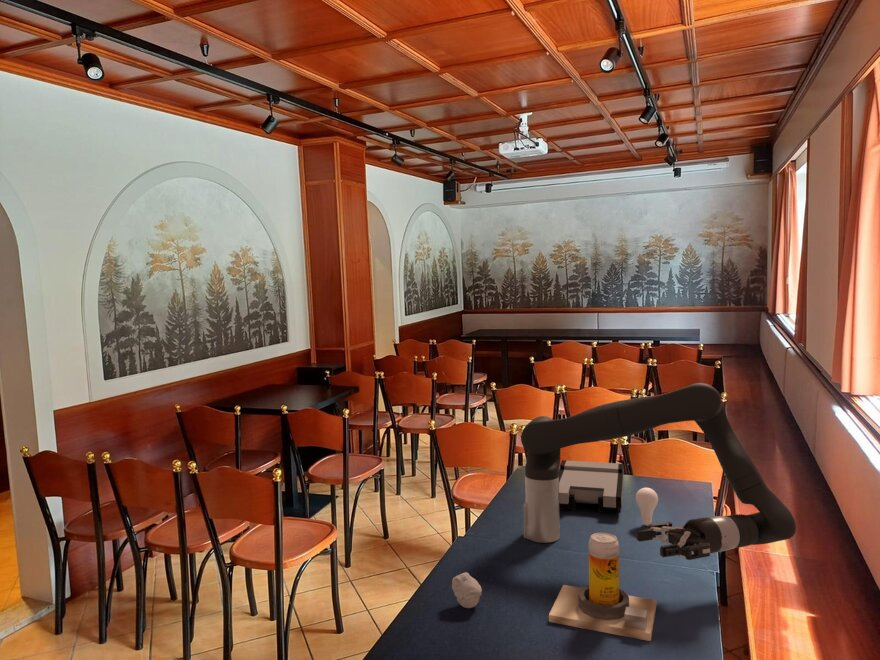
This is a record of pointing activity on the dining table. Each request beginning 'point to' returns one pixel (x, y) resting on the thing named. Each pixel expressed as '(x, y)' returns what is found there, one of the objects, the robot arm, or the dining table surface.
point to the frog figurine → (466, 590)
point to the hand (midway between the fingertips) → (648, 543)
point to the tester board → (604, 613)
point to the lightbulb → (646, 504)
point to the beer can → (603, 569)
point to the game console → (591, 485)
